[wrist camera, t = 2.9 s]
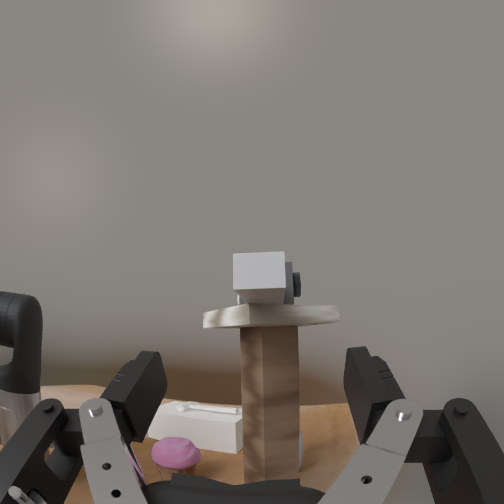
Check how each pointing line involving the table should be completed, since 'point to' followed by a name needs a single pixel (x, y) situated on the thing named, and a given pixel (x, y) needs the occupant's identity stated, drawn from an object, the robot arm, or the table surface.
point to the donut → (300, 449)
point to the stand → (270, 381)
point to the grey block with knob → (265, 278)
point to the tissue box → (200, 425)
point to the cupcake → (175, 456)
